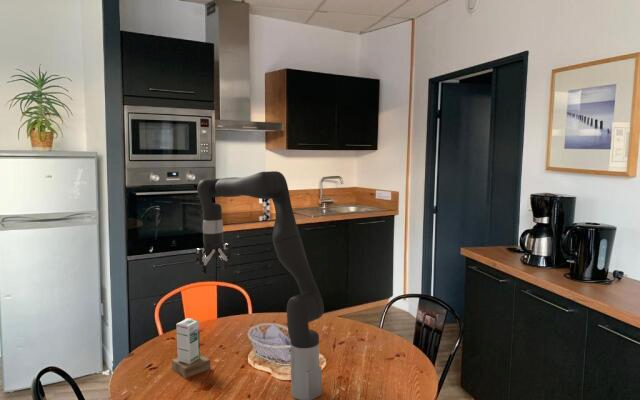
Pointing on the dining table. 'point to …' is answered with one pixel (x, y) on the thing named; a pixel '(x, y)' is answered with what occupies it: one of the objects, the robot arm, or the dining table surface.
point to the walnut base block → (191, 366)
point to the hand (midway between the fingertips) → (214, 272)
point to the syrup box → (188, 340)
